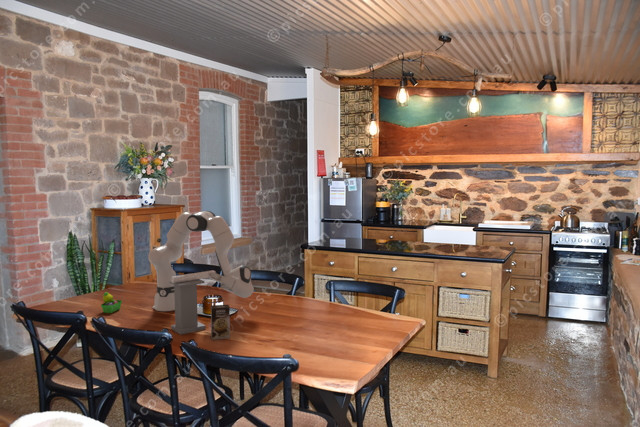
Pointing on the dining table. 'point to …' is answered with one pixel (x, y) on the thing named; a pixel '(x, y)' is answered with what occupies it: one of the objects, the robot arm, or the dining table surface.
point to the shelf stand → (186, 307)
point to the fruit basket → (110, 303)
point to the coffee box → (220, 322)
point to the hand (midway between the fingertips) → (208, 273)
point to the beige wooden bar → (191, 276)
